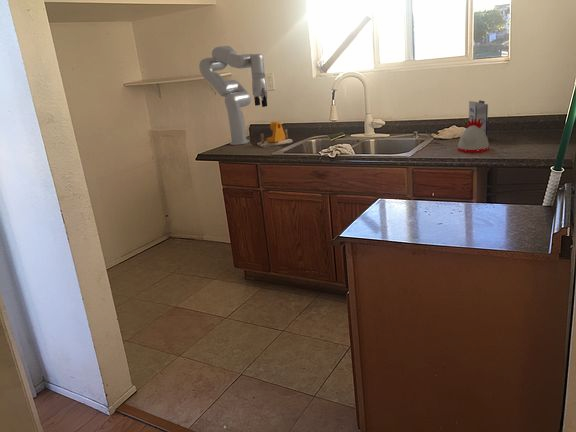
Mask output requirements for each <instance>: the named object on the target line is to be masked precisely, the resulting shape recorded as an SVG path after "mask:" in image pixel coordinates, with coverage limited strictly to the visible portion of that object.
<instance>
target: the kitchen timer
mask: <svg viewBox="0 0 576 432" xmlns="http://www.w3.org/2000/svg"><path fill="white" fill-rule="evenodd" d="M467 122H468V123H464V124H465V130H463V132H462V134H461V135H460V137H459V141H458V144H457V152H458V153H459V152H460V153H463V154H480V153H481V154H482V153H485V152H488V151H489V150H490V143H489V139H488V135H487V136H486V134H485V132H484V131H483V129H481V126H482V124H483V122H482V123H481V124H480V119H479V120H478V123H477V120H476V119H475V122H474V120H473V118H472V120H471V122H470V121H469V120H468V121H467ZM487 148H488V149H487ZM484 149H485V150H484ZM465 150H466V151H465ZM477 150H479V151H477Z"/></svg>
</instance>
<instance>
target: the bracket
mask: <svg viewBox="0 0 576 432" xmlns="http://www.w3.org/2000/svg"><path fill="white" fill-rule="evenodd" d="M269 129H270V130H271V131H272V134H271V135H272V136H269V137H267V138H265V141H266V142H277V143H278V142H281V141H283V139H285V133H284V128H283V126H282V123H281V121H271V122H270V125H269Z"/></svg>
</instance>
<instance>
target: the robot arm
mask: <svg viewBox="0 0 576 432" xmlns="http://www.w3.org/2000/svg"><path fill="white" fill-rule="evenodd" d="M228 66H230V67H232V68H235V69H247V68H250V70H251V71H250V72H251V83H252V86H251V90H252V96H253V98H254V99H253V100H254V105H255V107H257V106H260V105H261V107H262V108H265V107H266V108H267V107H268V92H267V86H266V81H265V79H266V75H265V74H266V73H265V63H264V55H263V54H262V53H247V54H238V53H237V51H236V50H234V48H233V47H232V46H229V45H225V46H224V45H222V46H216V47H214V48H213V49H212V50H211V57H205V58H203V59H201V60H200V61H199V67H198V68H199V71H200V74H201V75H202V77H203V79H205V81H206V82H208V83H209V85H211V86H212V88H213V89H214V90H215V91H216V92H217V94H218V95H219V96H220V97H223V98H224V105H225V108H226V110H227V117H228V125H229V130H230V131H229V132H230V139H231V141H230V142H229V145H232V146H238V145H239V146H240V145H245V144H248V143H249V142H250V140H249V139H248V138H247V133H246V126H245V118H244V112H243V111H242V109H241V108H245V107H247V106H250V104H251V102H252V98H251V95H250V93H249V92H248V91H247V90H246V89H245V88H244V86H243V85H242V84H241V83H240V82H239V81H237V80H235V79H232V80H231V79H230V80H226V79H225V78H224V77H223V76H222V75H221V74H219V73H217V71H218V72H219V71H222V70H225V69H226V68H227V67H228ZM260 98H261V99H260Z"/></svg>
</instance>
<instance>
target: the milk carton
mask: <svg viewBox="0 0 576 432" xmlns="http://www.w3.org/2000/svg"><path fill="white" fill-rule="evenodd" d="M488 110H489V104H488V103H487V104H486V101H484V100H481V99H480V100H478V101H475V100H474V101H471V100H469V101H468V121H470V122H471V120H472V118H473V120H474V122H475V119H476V120H477V123H478V120H479V119H480V124H481V123H482V122H483V124H482V126H481V129H483V131H484V132H485V134H486V136H487V137H488V114H489V113H488V112H489V111H488Z"/></svg>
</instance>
